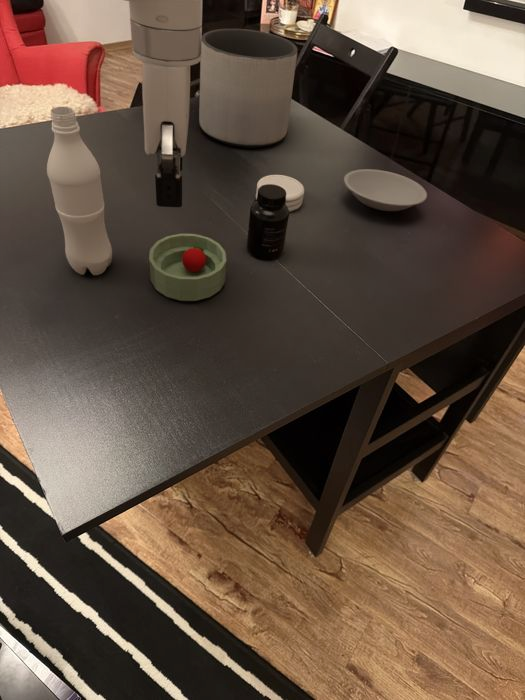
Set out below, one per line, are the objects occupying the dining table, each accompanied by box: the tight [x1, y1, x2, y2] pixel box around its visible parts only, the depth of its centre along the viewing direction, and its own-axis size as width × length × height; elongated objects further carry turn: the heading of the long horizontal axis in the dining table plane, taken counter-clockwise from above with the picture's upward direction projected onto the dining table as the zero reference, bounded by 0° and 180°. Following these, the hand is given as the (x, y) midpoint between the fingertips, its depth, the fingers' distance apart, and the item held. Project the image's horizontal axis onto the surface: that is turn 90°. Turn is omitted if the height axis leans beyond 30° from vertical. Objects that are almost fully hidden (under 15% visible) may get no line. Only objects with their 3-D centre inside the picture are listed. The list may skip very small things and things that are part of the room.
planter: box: [198, 28, 298, 149], centre depth 116 cm, size 23×23×20 cm
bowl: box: [148, 233, 227, 302], centre depth 79 cm, size 12×12×5 cm
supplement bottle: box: [246, 184, 290, 261], centre depth 84 cm, size 7×7×12 cm
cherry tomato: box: [182, 246, 206, 272], centre depth 80 cm, size 4×4×4 cm
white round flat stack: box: [255, 174, 305, 213], centre depth 100 cm, size 10×10×4 cm
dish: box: [343, 168, 428, 212], centre depth 102 cm, size 18×14×5 cm
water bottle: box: [46, 106, 113, 276], centre depth 71 cm, size 7×7×25 cm
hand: (170, 186), depth 64 cm, fingers open, 9 cm apart
